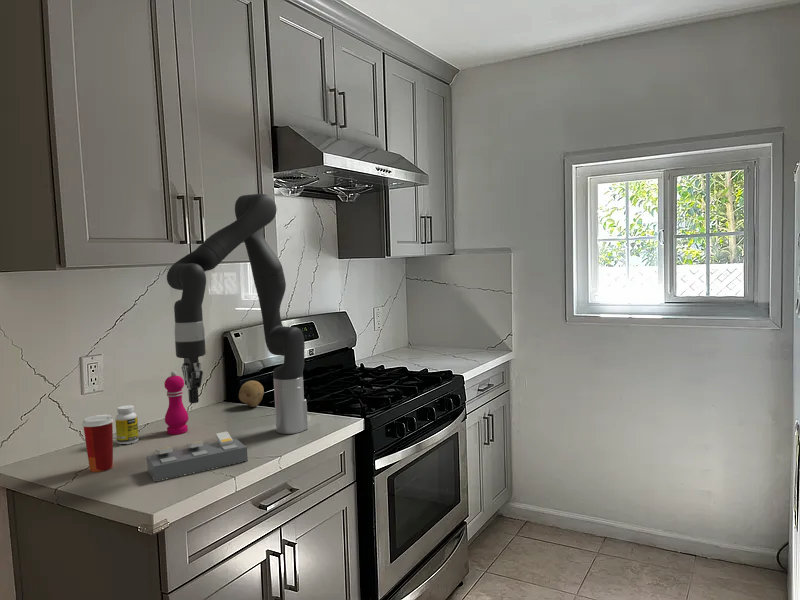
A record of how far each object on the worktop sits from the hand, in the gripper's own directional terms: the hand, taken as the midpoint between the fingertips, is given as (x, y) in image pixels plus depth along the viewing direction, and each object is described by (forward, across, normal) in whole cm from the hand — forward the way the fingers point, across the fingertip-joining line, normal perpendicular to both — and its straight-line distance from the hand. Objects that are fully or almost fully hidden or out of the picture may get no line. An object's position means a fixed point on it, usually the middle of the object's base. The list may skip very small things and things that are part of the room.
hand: (193, 402), depth 164 cm
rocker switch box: (+17, 0, 0) cm, 17 cm away
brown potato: (+17, +52, -33) cm, 64 cm away
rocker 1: (+12, +2, +8) cm, 14 cm away
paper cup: (+18, +15, +22) cm, 32 cm away
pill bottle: (+18, +36, +12) cm, 42 cm away
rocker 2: (+12, +2, -8) cm, 14 cm away
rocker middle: (+12, +2, 0) cm, 12 cm away
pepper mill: (+18, +37, -3) cm, 41 cm away
